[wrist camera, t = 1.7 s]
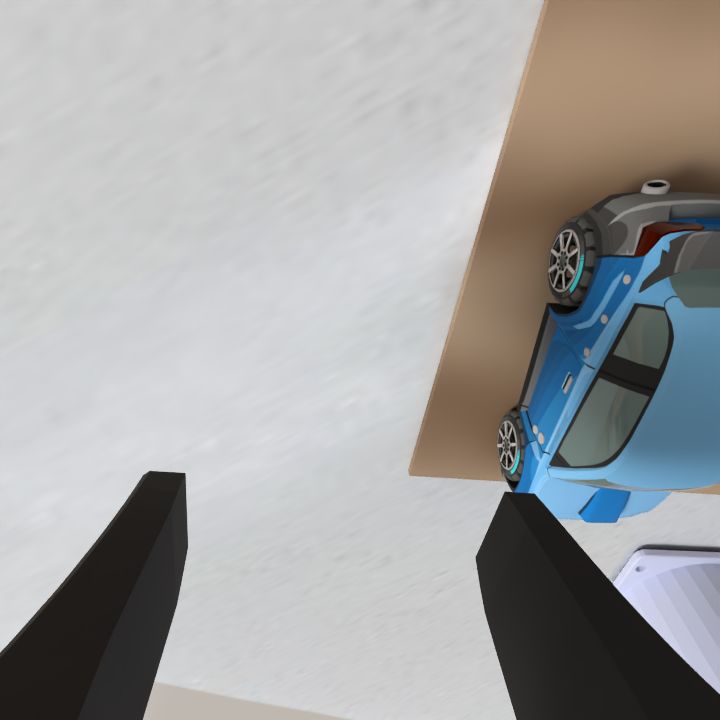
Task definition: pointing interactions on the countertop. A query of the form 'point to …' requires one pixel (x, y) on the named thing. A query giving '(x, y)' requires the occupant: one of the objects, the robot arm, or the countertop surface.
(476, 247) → the board
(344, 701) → the countertop surface
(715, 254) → the toy car
